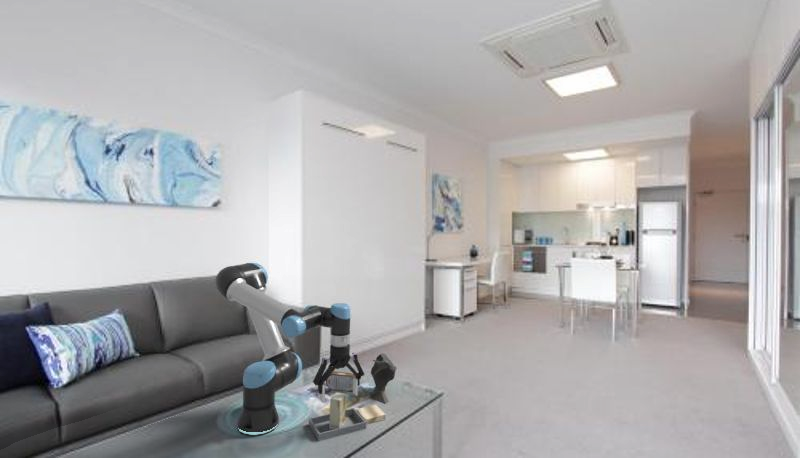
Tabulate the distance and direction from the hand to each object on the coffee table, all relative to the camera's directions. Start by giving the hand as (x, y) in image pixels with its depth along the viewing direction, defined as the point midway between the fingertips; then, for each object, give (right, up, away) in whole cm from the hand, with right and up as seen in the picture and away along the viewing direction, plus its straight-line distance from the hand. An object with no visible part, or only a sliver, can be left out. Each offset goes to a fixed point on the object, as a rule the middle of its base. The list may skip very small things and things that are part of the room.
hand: (339, 397), depth 159 cm
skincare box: (-1, -12, +1) cm, 12 cm away
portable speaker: (-4, -10, +32) cm, 33 cm away
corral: (-1, -12, +1) cm, 12 cm away
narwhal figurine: (+15, -11, +31) cm, 36 cm away
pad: (+12, -12, +9) cm, 19 cm away
